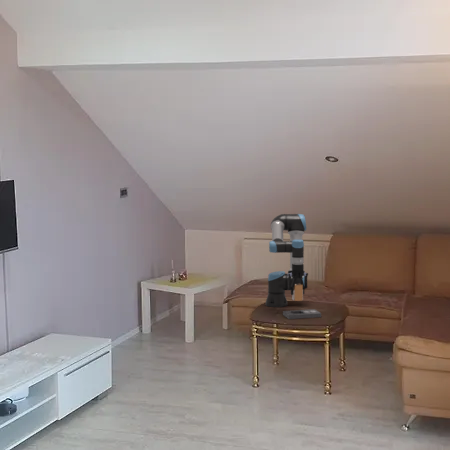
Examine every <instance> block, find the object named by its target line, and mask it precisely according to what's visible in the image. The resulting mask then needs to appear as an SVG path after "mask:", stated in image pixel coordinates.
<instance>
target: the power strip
mask: <svg viewBox="0 0 450 450" xmlns="http://www.w3.org/2000/svg"><path fill="white" fill-rule="evenodd" d="M282 316H283V317H284V318H287V319H288V320H295V319H299V320H300V319H310V318H313V319H315V318H322V312H320V311H319V310H317V309H298V310H294V309H293V310H283V311H282Z"/></svg>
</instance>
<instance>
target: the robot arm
mask: <svg viewBox="0 0 450 450" xmlns="http://www.w3.org/2000/svg"><path fill="white" fill-rule="evenodd" d="M270 230H271V240H270V241H269V242H268V243H269V245H268V247H269V249H268V250H269V252H270V253H274V254H277V253H282V254H283V253H289V255H290V256H289V265H290V266H289V267H290V268H289V269H288V270H287V273H286V272H285V270H282V271H281V270H279V271H273V272H270V273H269V274H268V276H267V287H268V288H267V297H266V300H265V306H266V307H269V308H270V307H271V308H283V307H287V306H288V299H287V297H286V291H290V295H291V299H292V301H295V290H293V289H294V285H295V284H301V285H303V295H305V290H306V289H308V276H309V273H308V272H306V271H305V265H304V262H305V261H304V257H305V256H304V255H305V253H304V251H305V247H304V246H305V243H304V240H303V235H304V234H305V231H307V222H306V217H305V215H304V214H303V213H302V214H301V213H281V214H279V215H277V216H275V217H274V218H273V219H272V220H271V223H270ZM284 231H287V234H288V235H289V240H284Z"/></svg>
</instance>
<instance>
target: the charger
mask: <svg viewBox="0 0 450 450" xmlns="http://www.w3.org/2000/svg"><path fill="white" fill-rule="evenodd" d="M293 290H295V300H294V301H295V302H296V301H297V302H302V301H303V300H304V294H303V285H301V284H295V285H294V289H293Z"/></svg>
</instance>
